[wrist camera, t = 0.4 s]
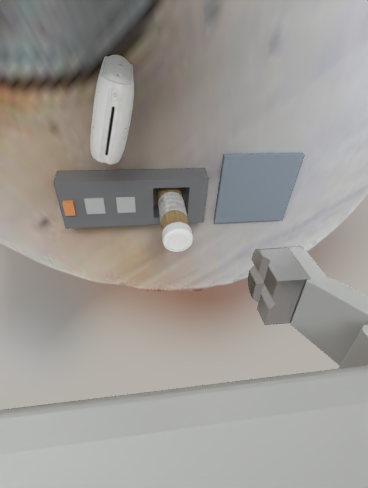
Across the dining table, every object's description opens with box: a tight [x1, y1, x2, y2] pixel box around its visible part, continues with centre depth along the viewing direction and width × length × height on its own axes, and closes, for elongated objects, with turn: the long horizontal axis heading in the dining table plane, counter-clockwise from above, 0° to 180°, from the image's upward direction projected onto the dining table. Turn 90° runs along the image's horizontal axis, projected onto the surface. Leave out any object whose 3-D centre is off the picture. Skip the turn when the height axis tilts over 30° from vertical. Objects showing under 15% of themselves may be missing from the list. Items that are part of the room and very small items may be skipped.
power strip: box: [54, 168, 209, 229], centre depth 52 cm, size 9×24×4 cm, turn 87°
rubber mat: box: [214, 153, 305, 223], centre depth 56 cm, size 14×14×1 cm
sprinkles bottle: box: [157, 188, 193, 252], centre depth 49 cm, size 5×5×14 cm
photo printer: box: [90, 55, 134, 164], centre depth 38 cm, size 10×4×12 cm, turn 163°
